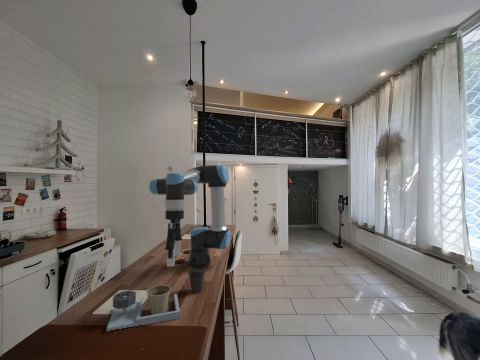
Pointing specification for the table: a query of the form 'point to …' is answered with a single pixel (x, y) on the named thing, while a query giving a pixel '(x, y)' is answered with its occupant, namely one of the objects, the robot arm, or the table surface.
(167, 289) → the flower pot
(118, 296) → the faceted octagonal hub
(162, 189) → the robot arm
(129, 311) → the tray
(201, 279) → the coffee cup
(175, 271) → the table surface
